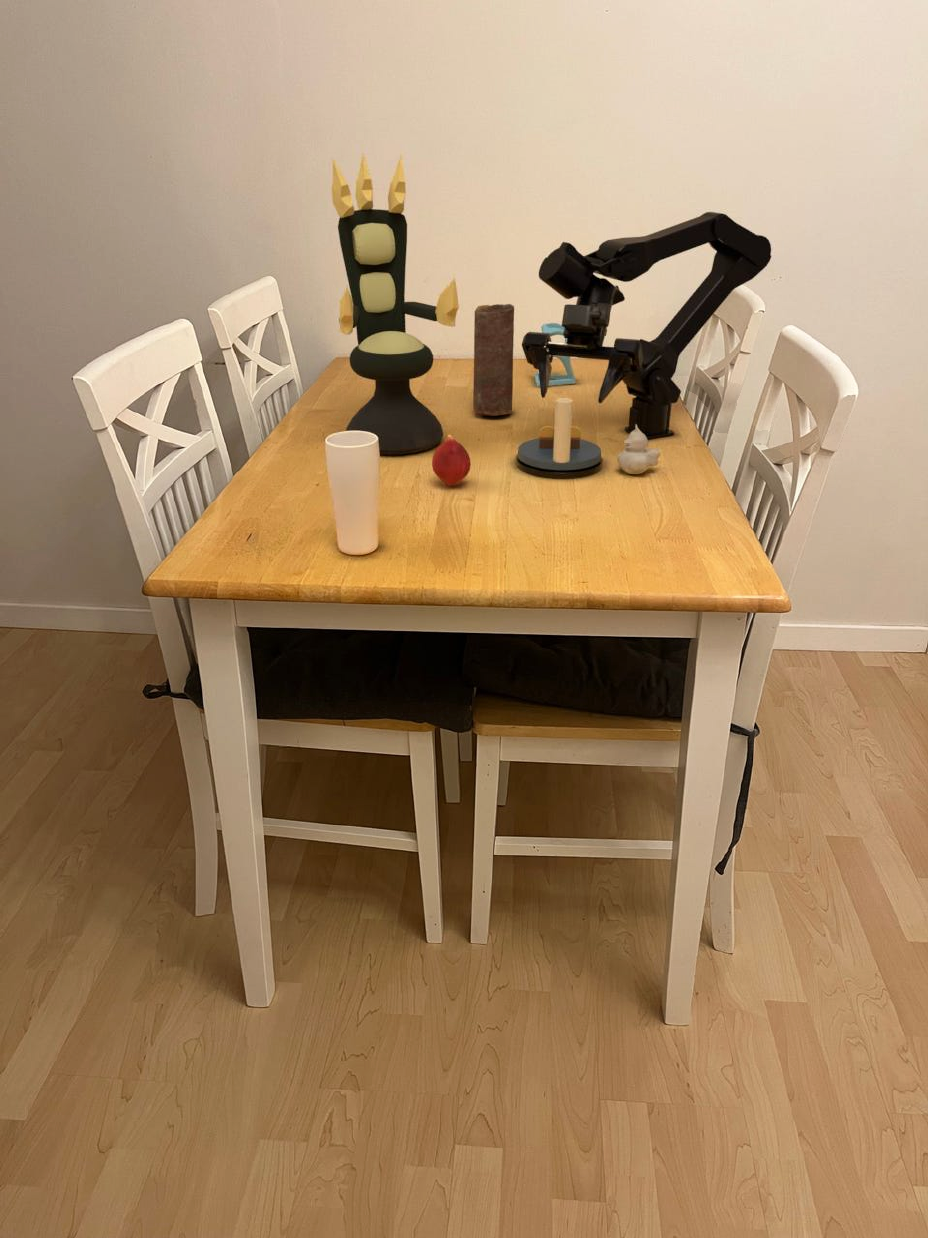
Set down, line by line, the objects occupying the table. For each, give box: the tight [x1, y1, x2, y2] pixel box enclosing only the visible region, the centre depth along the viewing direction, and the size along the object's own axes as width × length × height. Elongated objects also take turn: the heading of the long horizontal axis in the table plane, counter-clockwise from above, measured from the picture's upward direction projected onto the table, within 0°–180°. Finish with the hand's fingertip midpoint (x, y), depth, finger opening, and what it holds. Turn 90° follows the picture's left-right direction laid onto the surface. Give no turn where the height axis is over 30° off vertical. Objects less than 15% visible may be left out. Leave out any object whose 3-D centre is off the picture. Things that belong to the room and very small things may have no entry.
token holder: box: [517, 397, 602, 470], centre depth 153 cm, size 13×13×11 cm
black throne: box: [330, 152, 460, 456], centre depth 157 cm, size 19×22×45 cm
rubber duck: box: [617, 425, 661, 475], centre depth 151 cm, size 5×7×8 cm
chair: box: [534, 322, 576, 388], centre depth 199 cm, size 8×8×12 cm
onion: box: [431, 434, 471, 487], centre depth 146 cm, size 6×6×8 cm
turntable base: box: [515, 454, 604, 480], centre depth 156 cm, size 14×14×1 cm
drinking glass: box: [324, 430, 381, 556], centre depth 123 cm, size 7×7×15 cm
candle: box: [472, 303, 515, 417], centre depth 176 cm, size 8×7×20 cm
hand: (570, 399), depth 150 cm, fingers open, 9 cm apart
